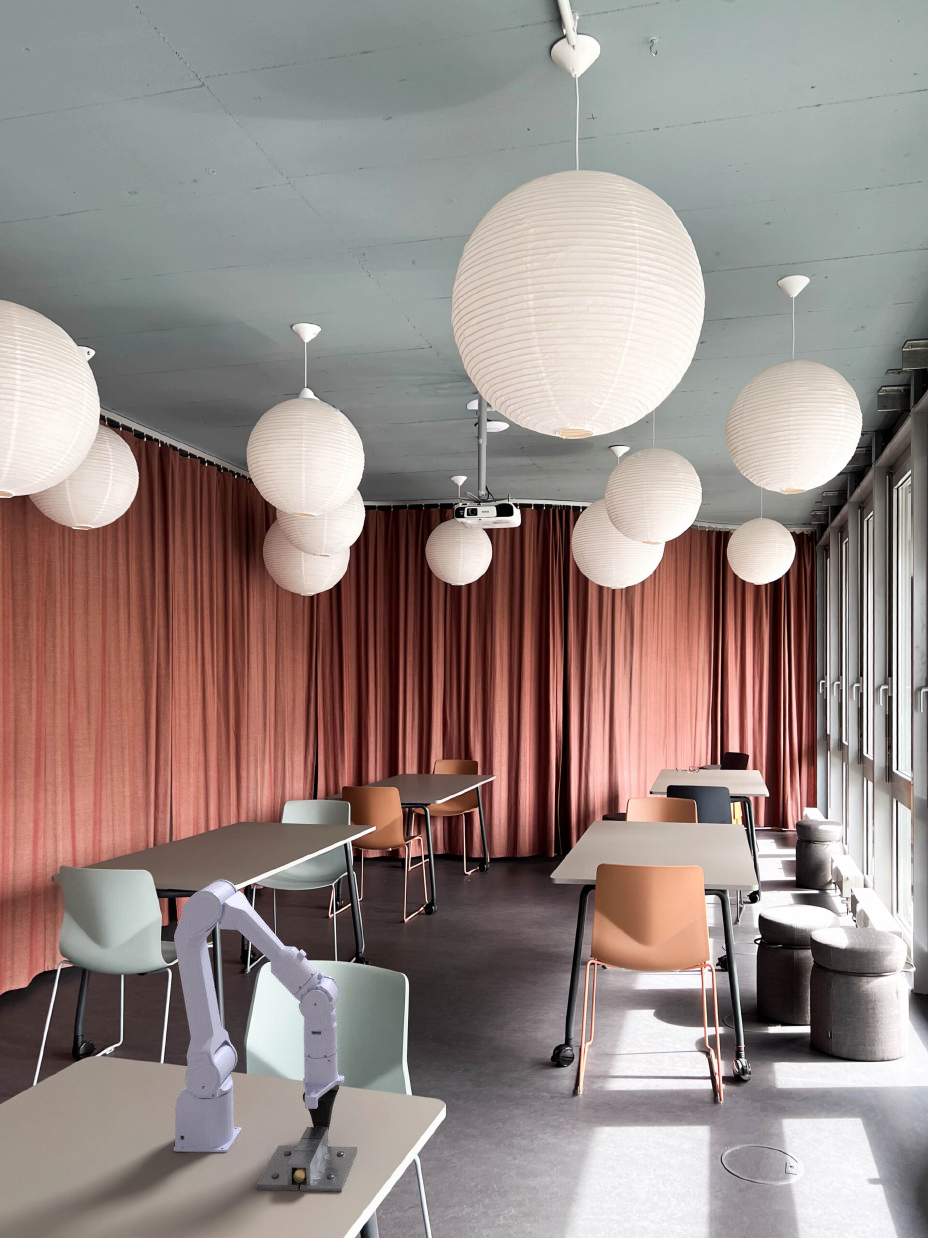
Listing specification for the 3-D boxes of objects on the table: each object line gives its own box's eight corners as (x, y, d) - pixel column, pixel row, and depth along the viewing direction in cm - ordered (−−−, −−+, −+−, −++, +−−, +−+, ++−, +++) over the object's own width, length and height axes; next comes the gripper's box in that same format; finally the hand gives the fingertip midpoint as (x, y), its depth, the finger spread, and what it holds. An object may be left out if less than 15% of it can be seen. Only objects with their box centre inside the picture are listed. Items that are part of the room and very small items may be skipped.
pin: (291, 1185, 144) (290, 1168, 144) (312, 1141, 158) (312, 1125, 158) (307, 1185, 144) (307, 1168, 144) (327, 1141, 158) (327, 1126, 158)
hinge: (256, 1189, 145) (256, 1163, 145) (278, 1150, 156) (278, 1126, 157) (341, 1191, 143) (341, 1165, 144) (357, 1152, 155) (356, 1127, 156)
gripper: (333, 1070, 152) (335, 1154, 151) (351, 1036, 167) (353, 1113, 166) (292, 1069, 153) (293, 1154, 152) (313, 1035, 167) (314, 1112, 166)
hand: (321, 1132), depth 159 cm, fingers closed
